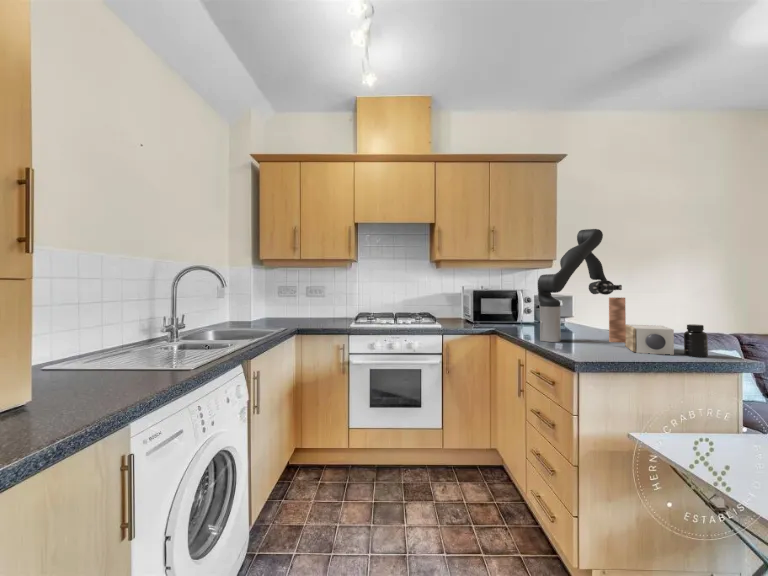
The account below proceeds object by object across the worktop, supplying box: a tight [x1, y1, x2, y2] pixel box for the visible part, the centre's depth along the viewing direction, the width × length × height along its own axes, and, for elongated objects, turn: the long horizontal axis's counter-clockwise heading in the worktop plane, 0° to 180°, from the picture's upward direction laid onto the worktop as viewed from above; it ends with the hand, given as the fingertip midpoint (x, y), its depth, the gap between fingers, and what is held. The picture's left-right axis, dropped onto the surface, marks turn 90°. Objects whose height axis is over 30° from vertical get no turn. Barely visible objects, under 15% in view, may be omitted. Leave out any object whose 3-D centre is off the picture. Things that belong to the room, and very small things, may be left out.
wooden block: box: [608, 297, 636, 353], centre depth 147 cm, size 7×14×22 cm, turn 156°
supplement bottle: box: [683, 324, 709, 358], centre depth 132 cm, size 7×7×12 cm
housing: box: [628, 324, 675, 356], centre depth 142 cm, size 12×16×10 cm
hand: (610, 287), depth 167 cm, fingers closed
